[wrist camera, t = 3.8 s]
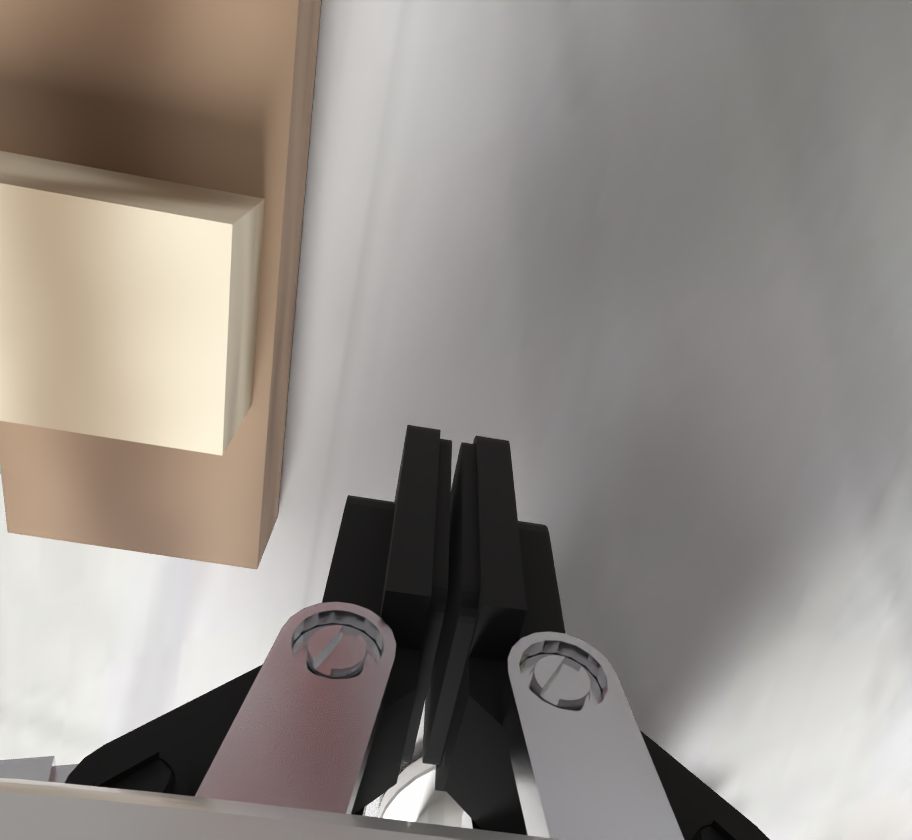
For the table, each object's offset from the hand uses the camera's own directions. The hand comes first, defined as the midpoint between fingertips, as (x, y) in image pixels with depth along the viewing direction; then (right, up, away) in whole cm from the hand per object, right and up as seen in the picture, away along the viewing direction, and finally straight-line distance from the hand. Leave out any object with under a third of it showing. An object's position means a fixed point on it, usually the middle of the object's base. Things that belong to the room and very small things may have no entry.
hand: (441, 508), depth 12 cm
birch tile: (-9, +5, +8) cm, 13 cm away
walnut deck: (-9, +6, +11) cm, 15 cm away
